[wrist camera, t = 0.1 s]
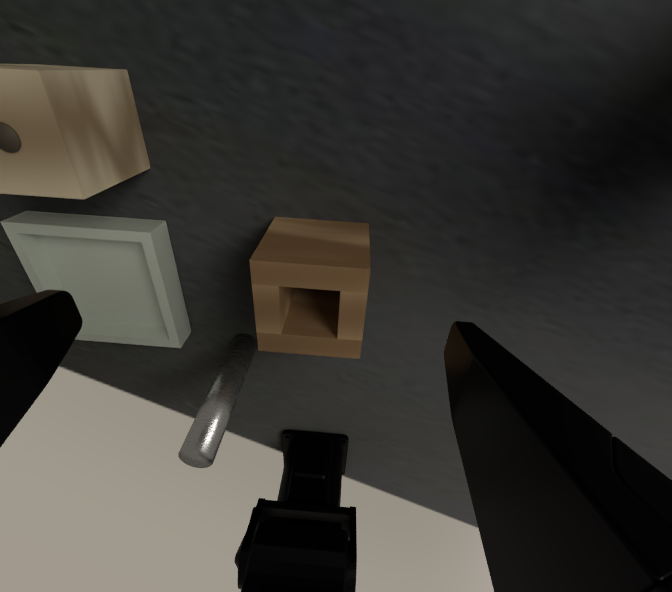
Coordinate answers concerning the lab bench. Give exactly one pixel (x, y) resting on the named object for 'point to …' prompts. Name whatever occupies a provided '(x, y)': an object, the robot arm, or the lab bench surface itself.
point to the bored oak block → (311, 287)
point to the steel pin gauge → (218, 404)
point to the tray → (106, 273)
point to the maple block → (67, 130)
